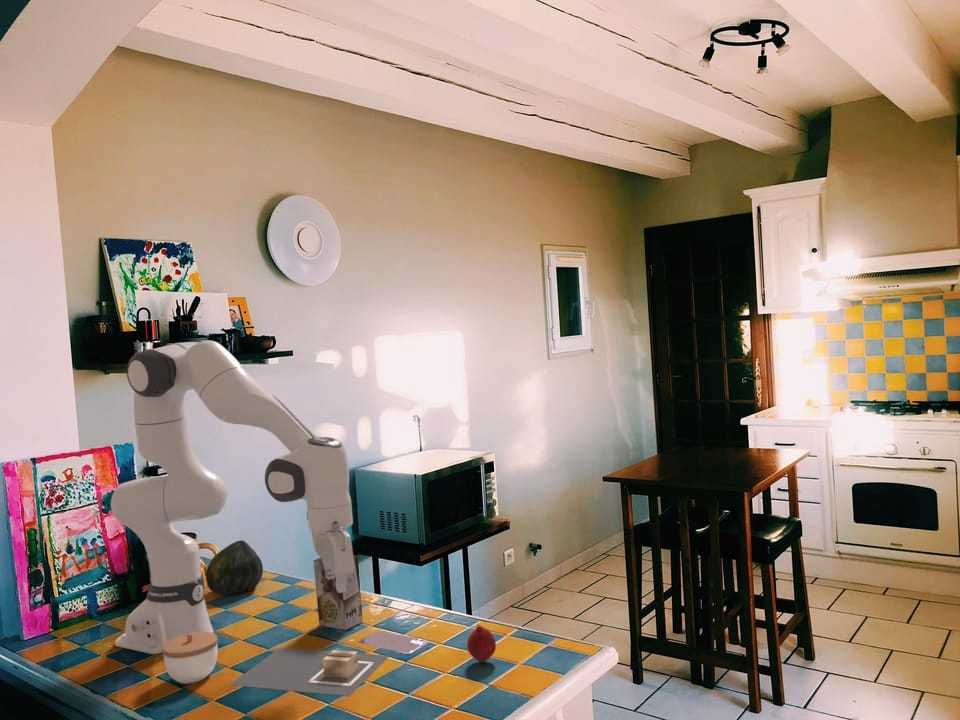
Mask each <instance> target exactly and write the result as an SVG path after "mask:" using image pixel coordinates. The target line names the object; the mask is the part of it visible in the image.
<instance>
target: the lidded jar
mask: <svg viewBox="0 0 960 720" xmlns="http://www.w3.org/2000/svg"><path fill="white" fill-rule="evenodd" d="M218 642H219V641H218V635H217V634H216V633H214V632H213V633H211V632H195V633H189V634H185V635H181V636H179V637H176V638H174V639H172V640H170V641H168V642H167V643H165V644H164V646H163V648H162V651H163V652H162V654H163V662H164V666H165V669H166V672H167V674H168V676H169V677H171V679H172V680H174V681H175V682H177V683H179V684H183V685H185V684H186V685H187V684H193V683H197V682H200V681H202V680H204V679H206V678H207V677H208V676H209V675H210V674H211V672H212V671H214V669H215V667H216V664H217V660H218V651H219V650H218Z"/></svg>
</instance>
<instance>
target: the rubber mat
mask: <svg viewBox="0 0 960 720" xmlns="http://www.w3.org/2000/svg"><path fill="white" fill-rule="evenodd" d="M332 651H333V650H331V651H330V650H320V649H319V650H318V649H316V650H315V649H305V648H304V649H303V648H290V647H288V648H287V647H279V648H278V649H276V650H275V651H273V652H272V653H271V654H269V655H268V656H267V657H265V658H264V659H262V660H261V661H260V662H258V663H257V664H256V665H255V666H253V667H252V668H250V669H249V670H248V671H246V672H245V673H244V674H242V675H241V676H240V677H238V678H237V679H235V680H234V681H233V682H231V683H230V684H229V686H234V687H235V686H236V687H244V688H245V687H246V688H256V689H267V690H277V691H287V692H288V691H289V692H298V693H299V692H300V693H310V694H319V695H320V694H322V695H328V696H330V695H331V696H342V697H350V696H352V694H353V693H355V691H356V690H357V689H358V688H359V687H360V686H361V685H362V684H363V683H365V681H366V680H367V679H368V678H369V677H371V676H372V674H373V673H374V672H375V671H376V670H377V669H378V668H380V666H382V664H384V662H385V661H387V659H388V658H389V657H390V655H385V654H383V655H382V654H371V653H360V652H358V665H359V668H358V669H357V670H356V671H355V672H354V673H353V674H352V675H351V676H350V677H349V678H338V677H325V676H324V668H323V659H324V658H325V657H326V656H327V655H328V654H329V653H331V652H332Z"/></svg>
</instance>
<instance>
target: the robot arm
mask: <svg viewBox="0 0 960 720" xmlns="http://www.w3.org/2000/svg"><path fill="white" fill-rule="evenodd" d="M126 376H127V377H126V378H127V380H128V383H129V385H130V388H132V390H133V391H134V392H133V416H134V426H135V434H136V441H137V451H138V453H139V455H140V456H141V457H142V458H143V459H144V460H145V461H147V462H149V463H152V464H154V465H157V466H159V467H161V468H162V469H163V470H164V471H165V472H166V475H163V476H152V477H150V476H149V477H141V478H140V477H139V478H136V479H132V480H129V481H125V482H123V483H120V484H119V485H118V486H117V487H116V488H115V490H114V492H113V493H112V496H111V499H110V509H111V512H112V515H113V516H114V518H115V519H116V520H117V522H118V523H120V524H121V525H123V526H125V527H127V528H128V529H130V531H132V532H133V533H134V534H135V535H136V536H137V537H138V538H139V540H140V541H141V542H142V544H143V545H144V549H145V551H146V553H147V559H148V563H149V569H150V580H151V582H149V584H147V585H144V586H143V587H142V589H143V590H142V592H143V593H144V592H147V593H146V599H145V600H143V601H142V602H141V603H140V604H139V605H138V606H137V607H136V608H134V610H133V611H132V612H131V613H129V615H128V616H127V618H126V620H125V632H124V633H122V634H121V635H120V636H119V637H117V639H115V642H114V646H116V647H119V648H123V649H127V650H132V651H133V650H134V651H137V652H142V653H144V654H145V653H146V654H150V655H158V654H163V651H162V648H163V646H164V644H165V643H167V642H168V641H170V640H172V639H174V638H176V637H179V636H181V635H185V634H189V633H195V632H211V633H214V628H213V625H212V623H211V619H210V617H209V612H208V609H207V604H206V600H205V578H204V575H203V573H202V566H201V554H200V546H199V544H198V543H197V541H196V540H195V539H193V538H192V537H191V536H188V535H185V534H183V533H180V532H178V531H177V530H176V529H175V528H174V527H173V525H172V523H174V522H175V523H177V522H183V521H184V522H185V521H186V522H187V521H196V520H202V519H205V518H209V517H212V516H216V515H218V514H220V512H221V511H222V510H223V509H224V507H225V504H226V501H227V499H228V498H227V497H228V492H227V491H228V490H227V487H226V484H225V482H224V481H223V479H222V478H221V477H220V476H219V475H218V474H216V473H214V472H212V471H210V470H209V469H208V468H207V467H205V466H204V465H203V464H202V463H201V461H200V460H199V459H198V458H197V456H196V454H195V453H194V450H193V448H192V445H191V441H190V435H189V431H188V424H187V416H186V415H187V414H186V407H185V402H184V398H185V394H186V393H187V392H188V391H191V390H194V391H195V393H196V394H197V396H198V397H199V399H200V401H202V402H203V404H204V406H205V407H206V408H207V410H209V412H211V414H212V415H213V416H215V417H216V418H217V419H218V420H220V421H221V422H224V423H229V424H232V425H244V426H251V427H255V428H260V429H263V430H265V431H268V432H269V433H271V434H272V435H274V436H275V437H276V438H277V440H279V441H280V443H281V444H282V445H284V447H285V448H286V449H287V450H288V451H289V453H287V454H283V455H280V456H279V457H277V458H274V459H273V460H271V461H270V462H269V463H268V465H267V466H266V468H265V473H264V484H265V488H266V489H267V492H268V493H269V495H270V496H271V497H272V498H273V499H275V500H276V501H277V502H280V503H292V502H294V501H298V500H304V501H305V502H306V510H307V511H306V519H307V523H308V529H309V531H311V532H310V533H311V537H312V543H313V547H314V551H315V552H316V554H317V555H318V556H319V558H320V557H321V558H322V562H323V566H324V570H325V577H326V578H327V579H328V580H330V579H334V578H335V576H336V582H335V584H336V590H337V592H338V593H342V592H345V591H346V580H347V574H350V573H353V571H354V559H353V556H354V552H353V544H352V539H351V536H350V534H349V533H348V528H349V527H350V526H352V525H353V524H354V521H353V519H354V518H353V507H352V498H351V495H350V493H349V486H350V484H349V483H350V470H349V462H348V456H347V455H348V454H347V451H346V449H345V447H344V444H343V443H342V441H340V440H339V439H337V438H334V437H329V436H315V434H313V432H311V430H309V428H308V427H307V426H306V425H305V424H304V423H303V422H302V421H301V420H300V419H299V418H298V417H297V416H296V415H295V414H294V413H293V412H292V411H291V410H290V408H289V407H287V406H286V405H285V404H284V403H283V402H282V401H281V400H280V399H278V398H277V397H276V396H274V395H273V394H271V393H270V392H269V391H267V390H266V389H265V388H263V387H262V386H261V385H260V384H259V383H258V382H257V381H256V380H255V379H253V377H252V376H251V375H250V374H249V373H248V371H247V370H246V369H245V368H244V366H243V365H242V364H241V363H240V362H239V360H238V359H237V358H236V357H235V356H234V355H233V354H232V353H231V352H230V351H229V350H227V349H226V347H224V346H223V345H222V344H220V343H219V342H218V341H214V340H209V339H206V340H195V341H188V342H187V341H185V342H176V343H170V344H169V345H164V346H161V347H159V346H158V347H157V348H152V349H151V348H148V349H144V350H142V351H139V352H137V353H135V354H133V355H132V356H131V358H130V359H129V361H128V363H127V367H126Z"/></svg>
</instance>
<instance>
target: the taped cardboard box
mask: <svg viewBox="0 0 960 720" xmlns="http://www.w3.org/2000/svg"><path fill="white" fill-rule="evenodd" d="M331 651H332V652H331V653H329V654H328V655H327V656H326V657H325V658H324V659H323V668H324V676H325V677H338V678H349V677H350V676H351V675H352V674H353V673H354V672H355V671H356V670H357V669H358V668H359V665H358V653H359V652H358V651H356V650H355V651H353V650H338V649H333V650H331Z"/></svg>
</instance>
